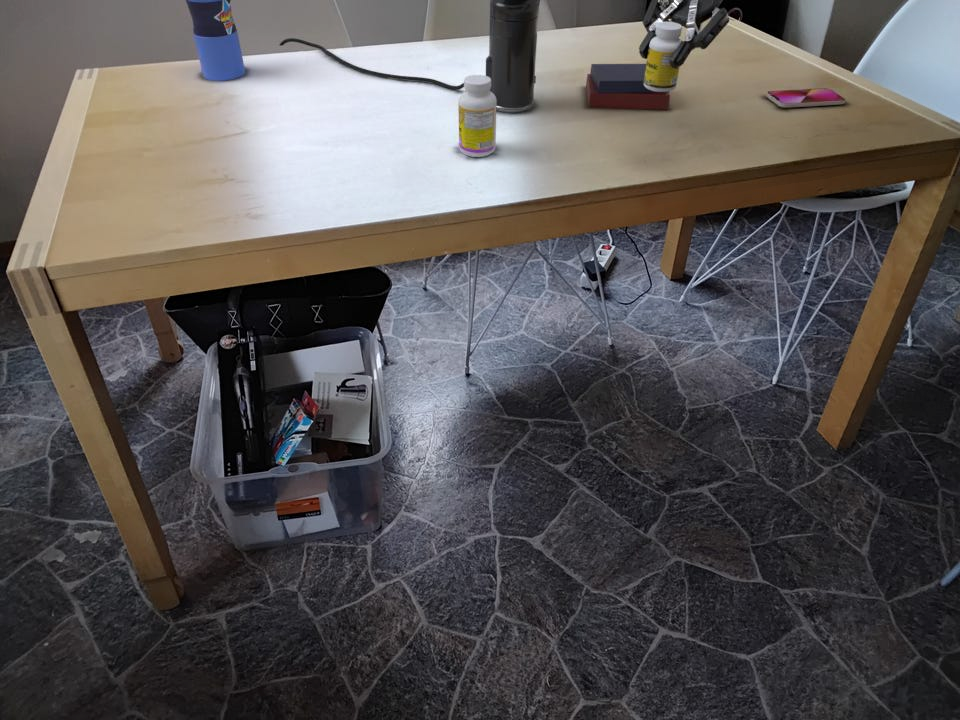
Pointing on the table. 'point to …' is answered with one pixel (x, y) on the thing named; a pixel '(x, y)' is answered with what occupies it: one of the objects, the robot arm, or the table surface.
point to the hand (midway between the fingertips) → (657, 60)
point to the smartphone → (805, 97)
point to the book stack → (622, 88)
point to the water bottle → (216, 39)
